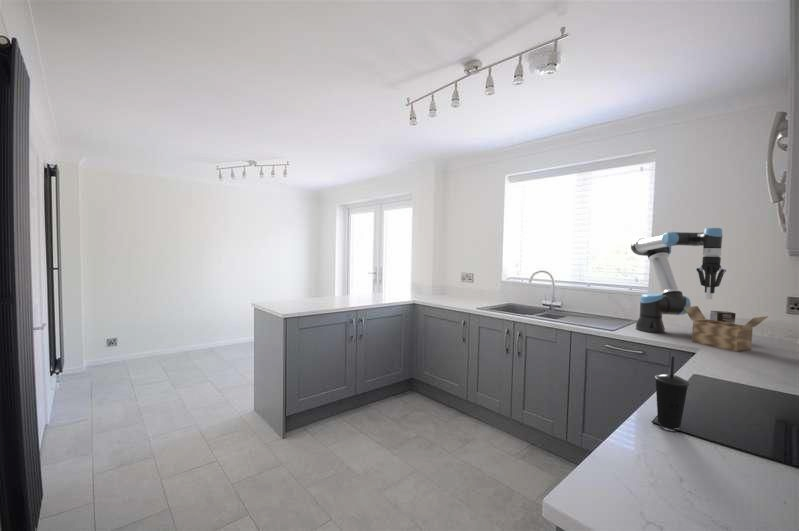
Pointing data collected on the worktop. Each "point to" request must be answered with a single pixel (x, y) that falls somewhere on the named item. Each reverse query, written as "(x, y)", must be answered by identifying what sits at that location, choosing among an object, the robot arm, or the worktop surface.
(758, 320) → the flap
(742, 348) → the carton
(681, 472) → the worktop surface
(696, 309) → the flap
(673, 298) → the robot arm
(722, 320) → the coffee box
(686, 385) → the drinking cup
